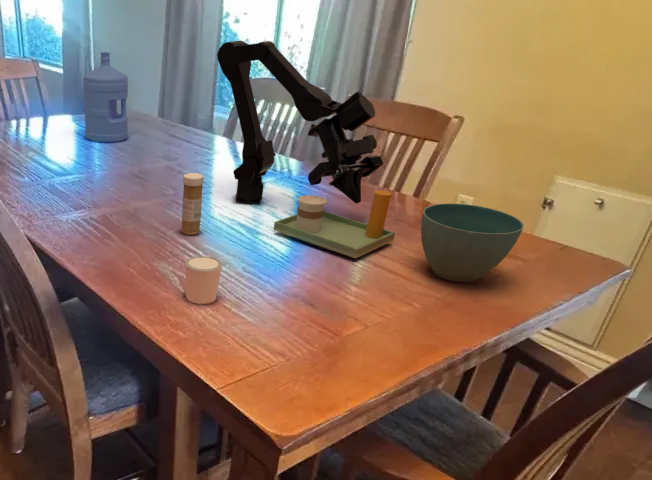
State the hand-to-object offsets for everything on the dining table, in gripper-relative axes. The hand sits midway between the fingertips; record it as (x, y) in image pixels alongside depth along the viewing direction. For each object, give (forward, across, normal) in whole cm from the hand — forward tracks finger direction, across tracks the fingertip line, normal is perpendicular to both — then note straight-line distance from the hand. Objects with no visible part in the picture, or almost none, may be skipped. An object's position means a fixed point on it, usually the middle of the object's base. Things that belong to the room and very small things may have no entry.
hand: (358, 202), depth 143 cm
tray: (+6, -8, +4) cm, 11 cm away
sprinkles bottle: (-6, -35, +17) cm, 40 cm away
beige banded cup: (+2, -12, +6) cm, 13 cm away
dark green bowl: (+25, +2, -14) cm, 29 cm away
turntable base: (+6, -8, +4) cm, 11 cm away
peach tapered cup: (+15, -52, -4) cm, 54 cm away
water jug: (-73, -13, +85) cm, 113 cm away
